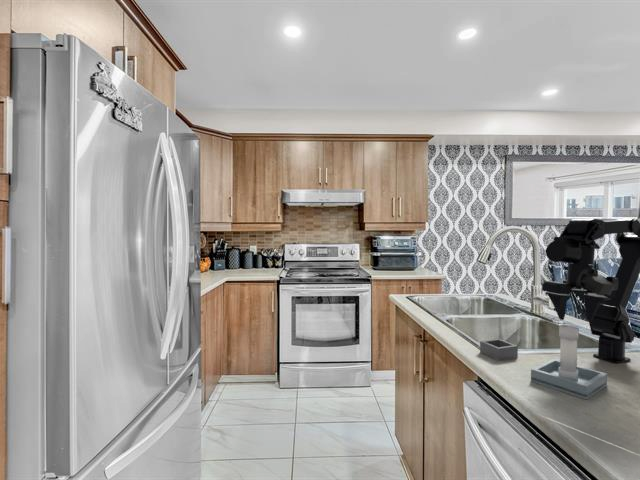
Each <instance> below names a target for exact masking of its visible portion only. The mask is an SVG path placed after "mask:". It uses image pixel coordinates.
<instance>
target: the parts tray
mask: <svg viewBox="0 0 640 480" xmlns="http://www.w3.org/2000/svg"><path fill="white" fill-rule="evenodd" d="M559 367H560V359H559V360H558V359H555V358H552V359H550V360H547V361H545V362H543V363H541V364H539V365H537V366H535V367H533V368H531V369H530V381H531V382H533V383H536V384H540V385H542V386H545V387H548V388H552V389H554V390H556V391H560V392H563V393H567V394H570V395H572V396H575V397H578V398H581V399H584V400H589V399H590V398H591V397H593V396H594V395H596V394H597V393H599V392H600V391H602V390H603V389H604V388H605V387H607V386H608V373H606V372H603V371H598V370H596V369H592V368H588V367H585V366H581V365H577V370H578V382H576V381H573V380H570V379H566V378H563V377H560V376H559Z"/></svg>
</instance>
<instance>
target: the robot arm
mask: <svg viewBox="0 0 640 480" xmlns="http://www.w3.org/2000/svg"><path fill="white" fill-rule="evenodd" d="M625 233H629V234H627V235H625ZM630 233H632V234H630ZM612 234H613V235H614V234H616V237H615V242H616V243H617V245H618V246H619V249H618V252H619V255H620V256H621V261H620V264H619V266H618V269H617V271H616V274H615V276H610V275H609V276H606V277H605V276H600V275H599V271H598V268H597V269H596V268H594V263H595V253H596V251H595V250H599V249H600V248H601V247H600V245H599V244H598V243H597V242H596V240H599V239H601V238H604V237H605V236H606V235H612ZM545 256H546V257H547V259H548V260H549V261H551V262H553V263H563V264H567V266H565V265H564V266H563V270H565V271H567V272H566V280H562V282H559V281H548V280H545V281H544V282H543V283H542V284H541V291H542V292H545V293H544V294H545V295H547V296H548V297H549V299H550V301H551V304H552V305H553V308H554V309H555V312H556V315H557V317H558V319H559V320H561V321H564V320H565V318H566V317H565V316H566V309H567V303H568V301H569V300H570V299H571V297H572V296H571V295H570V294H571V293H581V294H582V293H584V294H583V301H584V310H585V316H586V320H587V321H588V323H589V324H588V325H589V328H590V329H589V330H590V333H591V335H594V336H598V343H597V344H598V346H597V347H598V349H597V353H593V354H592V356H593V357H596V358H599V359H602V360H606V361H608V362H610V363H611V362H612V363H614V364H620V363H624V362H630V361H631V360H632V359H631V358H630V357H628V356H627V357H626V343H630V344H632V343H633V341H634V339H635V335H636V334H635V331H634V330H633V329H632V328H631V326H630V325H629V323H630V317H629V314H628V312H627V307H628V304H629V302H630V299H631V296H632V294H633V291H634V288H635V286H636V285H637V284H636V283H637V281H638V278H639V276H640V221H639V219H636V218H619V219H615V220H603V219H599V218H573V219H570V220H568V224H566V225H565V228H563V231H562V232H561V234H560V235H559V236H553V241H551V242H550V243H549V244H548V245H547V246H546V248H545Z"/></svg>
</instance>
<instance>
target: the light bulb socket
mask: <svg viewBox="0 0 640 480" xmlns="http://www.w3.org/2000/svg"><path fill="white" fill-rule="evenodd" d="M518 347H519V346H518V345H517V344H513V343H511V342H509V341H506V340H503V339H500V338H493V339H486V340H481V341H480V343H479V353H480V354H483V355H485V356H487V357H489V358H490V359H491V358H492V359H494V360H496V361H504V360H505V361H506V360H510V359H511V360H512V359H517V358H518V357H519V355H518V353H519V350H518Z"/></svg>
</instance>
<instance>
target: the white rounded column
mask: <svg viewBox="0 0 640 480" xmlns="http://www.w3.org/2000/svg"><path fill="white" fill-rule="evenodd" d="M579 336H580V328H579V327H578V326H574V325H567V324H566V325H565V324H562V325H559V328H558V337H559V338H560V345H559V346H560V350H559V351H560V354H559V355H560V356H559V357H560V358H559V361H560V367H559V376H560V377H563V378H566V379H570V380H573V381H576V382H578V370H577V366H578V340H579V339H580V337H579Z"/></svg>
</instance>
